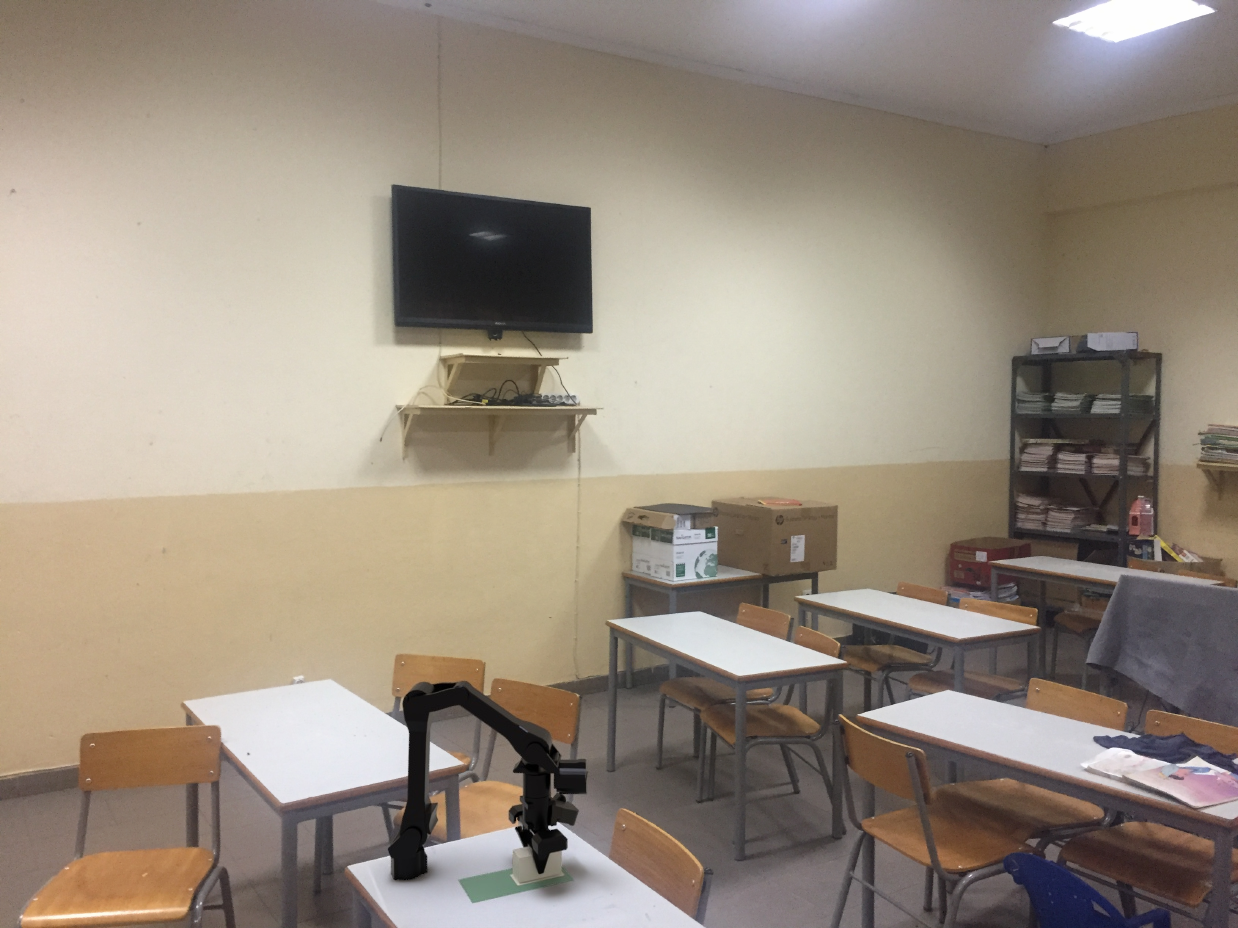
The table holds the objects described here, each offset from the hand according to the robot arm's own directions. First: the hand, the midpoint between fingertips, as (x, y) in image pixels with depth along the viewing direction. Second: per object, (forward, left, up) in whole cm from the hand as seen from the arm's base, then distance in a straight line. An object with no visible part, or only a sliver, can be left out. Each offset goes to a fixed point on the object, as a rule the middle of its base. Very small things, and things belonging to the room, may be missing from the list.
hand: (537, 868), depth 187 cm
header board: (-4, 0, -2) cm, 5 cm away
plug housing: (0, 0, -1) cm, 1 cm away
